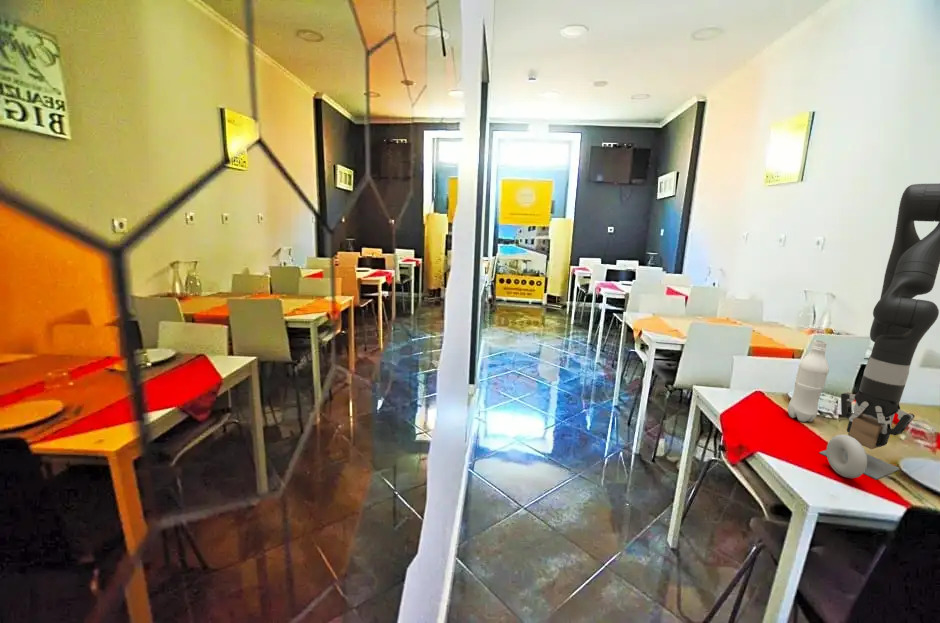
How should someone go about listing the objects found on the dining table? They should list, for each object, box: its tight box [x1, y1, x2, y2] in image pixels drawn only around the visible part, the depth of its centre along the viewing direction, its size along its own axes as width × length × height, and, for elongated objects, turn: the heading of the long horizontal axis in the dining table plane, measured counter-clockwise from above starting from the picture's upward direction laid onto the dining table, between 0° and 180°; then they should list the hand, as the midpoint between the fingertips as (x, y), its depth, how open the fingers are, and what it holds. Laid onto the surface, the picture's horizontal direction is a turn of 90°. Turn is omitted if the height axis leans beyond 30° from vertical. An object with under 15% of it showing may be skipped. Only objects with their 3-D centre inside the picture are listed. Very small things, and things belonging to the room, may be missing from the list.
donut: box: [826, 434, 867, 479], centre depth 101 cm, size 10×4×10 cm, turn 174°
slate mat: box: [819, 449, 901, 480], centre depth 109 cm, size 12×12×1 cm
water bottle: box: [787, 339, 830, 423], centre depth 129 cm, size 7×7×25 cm
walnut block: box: [847, 415, 881, 450], centre depth 107 cm, size 5×5×6 cm
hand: (865, 440), depth 107 cm, fingers closed on walnut block, 5 cm apart
